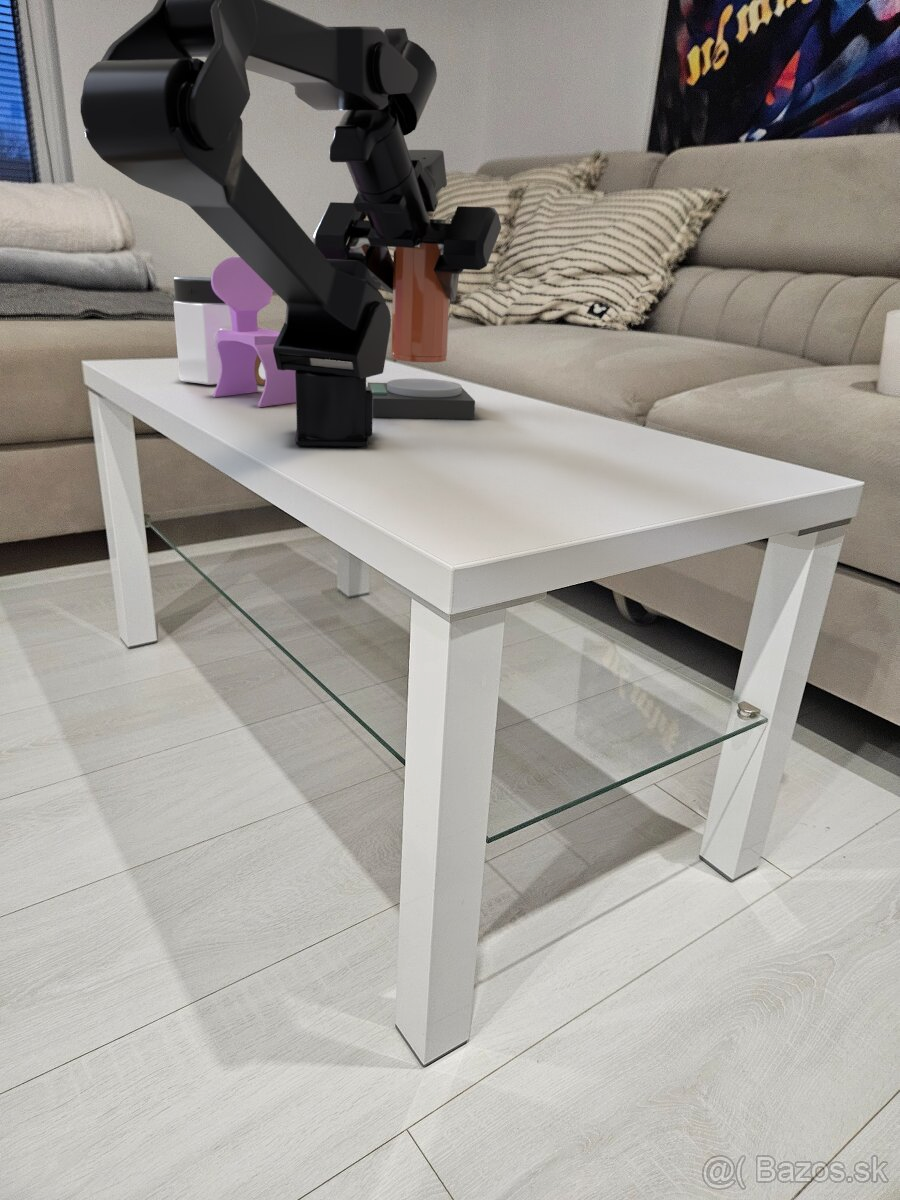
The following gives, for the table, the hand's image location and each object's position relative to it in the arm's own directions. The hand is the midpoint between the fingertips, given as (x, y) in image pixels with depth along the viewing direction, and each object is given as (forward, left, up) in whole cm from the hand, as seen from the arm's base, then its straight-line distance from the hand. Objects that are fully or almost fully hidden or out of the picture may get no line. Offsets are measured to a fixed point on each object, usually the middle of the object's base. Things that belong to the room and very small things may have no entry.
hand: (426, 295), depth 90 cm
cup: (-1, -1, -7) cm, 7 cm away
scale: (-1, -1, -12) cm, 12 cm away
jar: (-25, +15, -12) cm, 32 cm away
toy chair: (-19, +3, -12) cm, 23 cm away
